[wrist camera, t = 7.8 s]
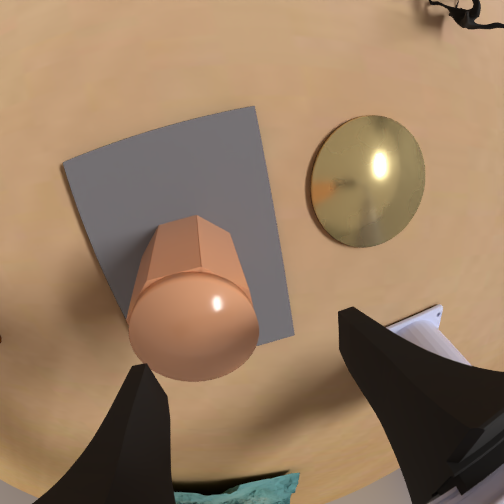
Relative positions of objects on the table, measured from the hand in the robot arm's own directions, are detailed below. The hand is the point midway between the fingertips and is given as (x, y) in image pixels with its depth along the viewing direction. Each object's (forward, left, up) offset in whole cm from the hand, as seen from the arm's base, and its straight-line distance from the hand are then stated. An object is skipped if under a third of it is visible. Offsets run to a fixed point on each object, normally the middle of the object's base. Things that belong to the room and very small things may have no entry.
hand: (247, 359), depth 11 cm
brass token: (+2, -11, -9) cm, 14 cm away
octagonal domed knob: (0, +2, -9) cm, 9 cm away
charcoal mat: (0, +2, -9) cm, 9 cm away
